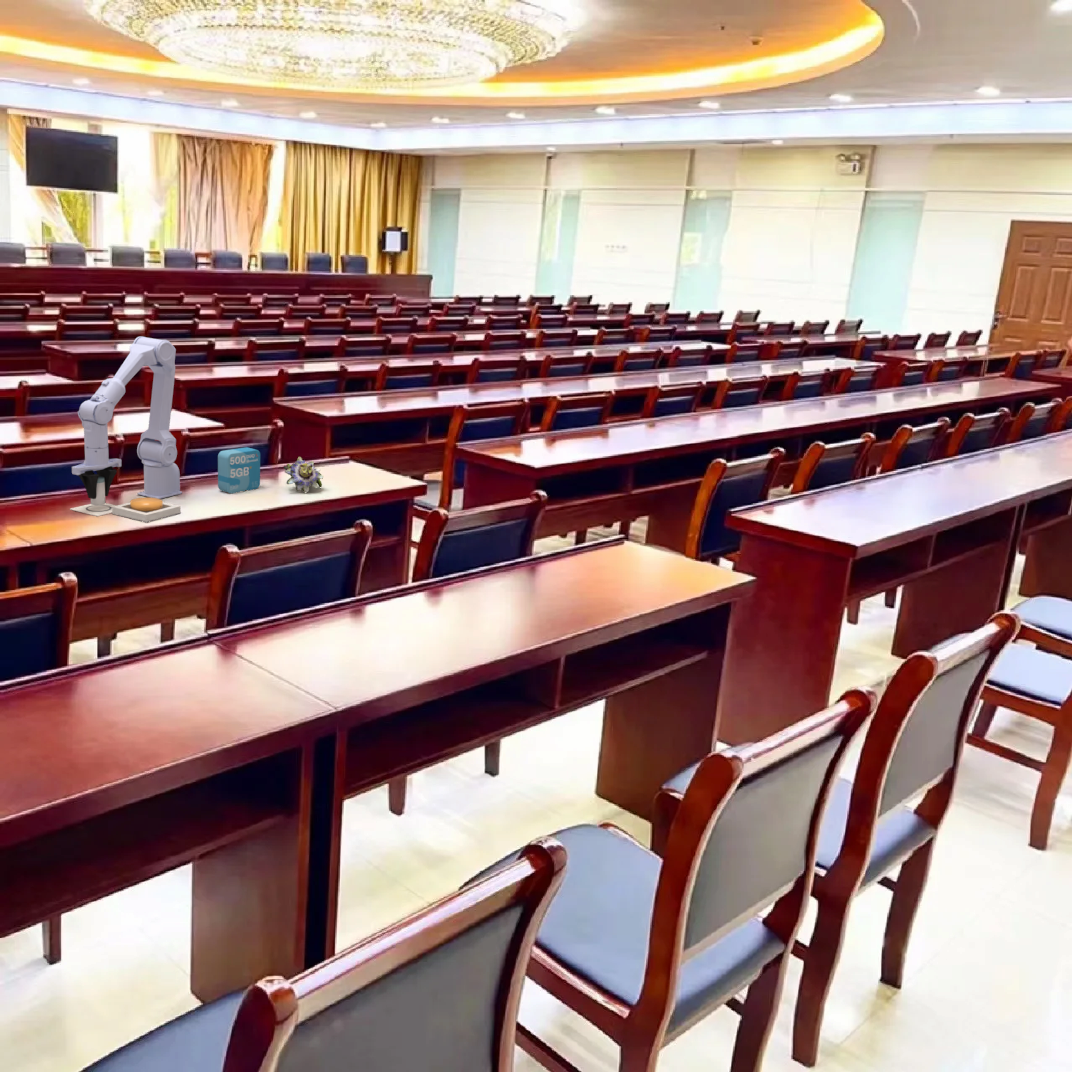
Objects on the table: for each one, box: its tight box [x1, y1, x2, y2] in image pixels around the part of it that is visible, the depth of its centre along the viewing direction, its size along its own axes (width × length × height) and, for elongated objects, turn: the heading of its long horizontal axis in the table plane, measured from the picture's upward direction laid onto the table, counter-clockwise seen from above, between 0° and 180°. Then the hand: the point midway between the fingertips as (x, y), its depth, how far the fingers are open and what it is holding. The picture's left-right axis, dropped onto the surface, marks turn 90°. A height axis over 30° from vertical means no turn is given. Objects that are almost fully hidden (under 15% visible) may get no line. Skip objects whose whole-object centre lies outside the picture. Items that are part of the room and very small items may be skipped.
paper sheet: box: [69, 502, 117, 517], centre depth 276 cm, size 10×10×1 cm
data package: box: [217, 447, 261, 494], centre depth 306 cm, size 12×4×12 cm, turn 145°
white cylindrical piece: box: [90, 476, 106, 505], centre depth 275 cm, size 4×4×7 cm
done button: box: [129, 497, 164, 511], centre depth 275 cm, size 8×8×2 cm
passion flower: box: [283, 456, 324, 493], centre depth 313 cm, size 11×11×12 cm
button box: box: [111, 501, 181, 523], centre depth 276 cm, size 12×12×2 cm
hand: (98, 496), depth 275 cm, fingers closed on white cylindrical piece, 3 cm apart
